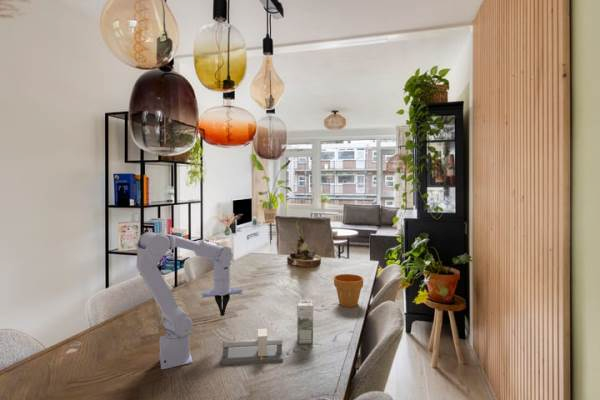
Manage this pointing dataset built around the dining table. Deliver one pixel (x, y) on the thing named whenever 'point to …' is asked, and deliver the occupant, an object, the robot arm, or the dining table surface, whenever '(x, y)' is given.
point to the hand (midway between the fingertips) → (222, 314)
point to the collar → (262, 342)
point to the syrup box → (305, 322)
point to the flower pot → (348, 289)
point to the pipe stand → (250, 352)
